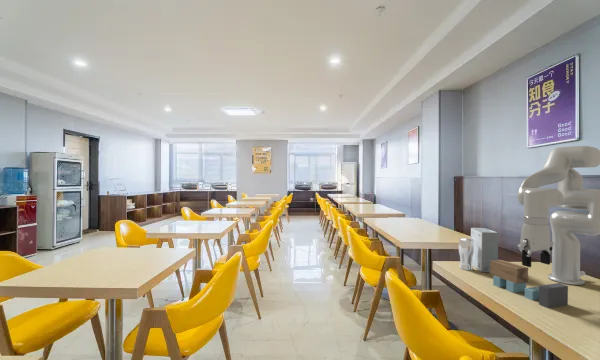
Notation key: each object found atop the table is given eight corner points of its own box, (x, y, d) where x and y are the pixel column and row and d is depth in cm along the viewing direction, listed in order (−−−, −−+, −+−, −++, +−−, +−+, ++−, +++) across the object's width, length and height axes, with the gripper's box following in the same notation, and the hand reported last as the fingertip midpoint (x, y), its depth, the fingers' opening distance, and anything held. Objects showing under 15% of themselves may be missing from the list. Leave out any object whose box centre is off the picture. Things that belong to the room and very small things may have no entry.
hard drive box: (498, 273, 144) (498, 232, 143) (481, 272, 145) (481, 232, 145) (485, 264, 159) (485, 227, 159) (469, 263, 160) (470, 227, 160)
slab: (500, 273, 132) (500, 259, 132) (527, 282, 120) (528, 267, 120) (490, 274, 130) (490, 260, 130) (516, 283, 119) (516, 268, 119)
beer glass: (455, 267, 153) (455, 238, 153) (464, 265, 156) (464, 237, 156) (467, 271, 147) (467, 241, 147) (477, 269, 150) (477, 240, 149)
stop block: (558, 301, 111) (558, 283, 111) (567, 304, 108) (568, 285, 108) (539, 304, 108) (539, 285, 108) (547, 307, 106) (548, 288, 106)
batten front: (519, 288, 124) (519, 279, 124) (526, 291, 121) (526, 281, 121) (506, 290, 122) (506, 280, 122) (513, 292, 120) (513, 282, 119)
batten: (537, 295, 117) (537, 286, 117) (545, 298, 114) (546, 289, 114) (524, 297, 115) (524, 288, 115) (532, 300, 112) (532, 291, 112)
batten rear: (505, 283, 130) (505, 274, 130) (512, 285, 127) (512, 276, 127) (493, 284, 128) (493, 275, 128) (499, 287, 125) (499, 278, 125)
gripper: (542, 218, 120) (542, 260, 121) (509, 221, 116) (509, 264, 116) (562, 221, 113) (562, 265, 114) (529, 224, 109) (529, 270, 109)
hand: (535, 264), depth 115 cm, fingers open, 9 cm apart
